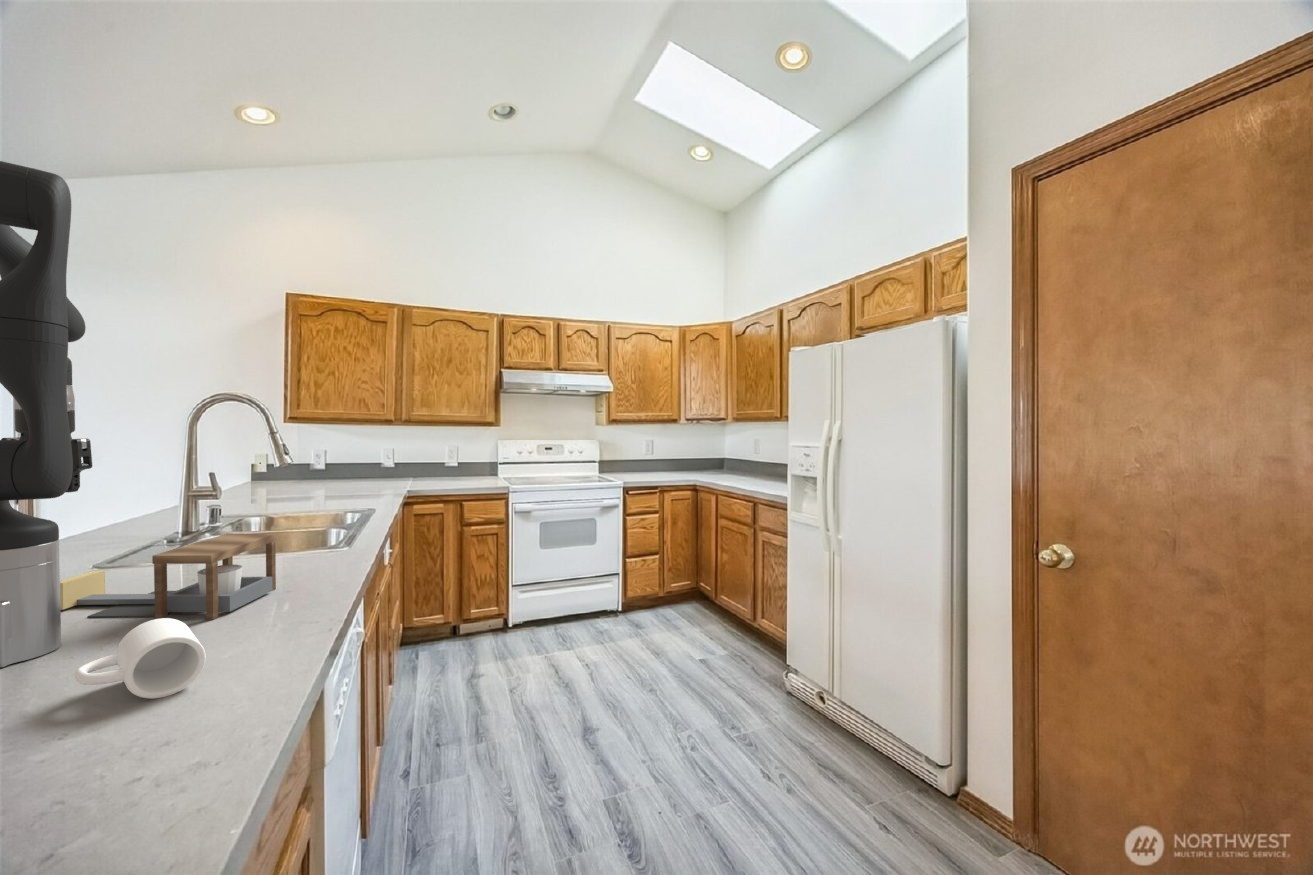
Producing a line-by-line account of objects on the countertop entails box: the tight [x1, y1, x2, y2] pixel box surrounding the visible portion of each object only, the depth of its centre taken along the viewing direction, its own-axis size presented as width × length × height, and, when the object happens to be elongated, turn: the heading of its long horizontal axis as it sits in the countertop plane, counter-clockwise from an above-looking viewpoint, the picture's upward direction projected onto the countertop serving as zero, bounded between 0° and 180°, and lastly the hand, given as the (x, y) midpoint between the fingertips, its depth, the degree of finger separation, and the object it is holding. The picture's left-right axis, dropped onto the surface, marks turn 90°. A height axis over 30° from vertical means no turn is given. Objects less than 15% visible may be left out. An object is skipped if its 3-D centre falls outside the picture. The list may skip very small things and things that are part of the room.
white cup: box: [197, 564, 243, 594], centre depth 103 cm, size 7×7×7 cm
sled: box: [60, 570, 273, 613], centre depth 102 cm, size 12×33×5 cm, turn 94°
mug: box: [74, 617, 207, 700], centre depth 71 cm, size 12×10×8 cm
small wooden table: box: [151, 533, 277, 621], centre depth 103 cm, size 18×10×12 cm, turn 4°
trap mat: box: [86, 590, 176, 619], centre depth 102 cm, size 14×12×1 cm
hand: (47, 491), depth 100 cm, fingers open, 8 cm apart
